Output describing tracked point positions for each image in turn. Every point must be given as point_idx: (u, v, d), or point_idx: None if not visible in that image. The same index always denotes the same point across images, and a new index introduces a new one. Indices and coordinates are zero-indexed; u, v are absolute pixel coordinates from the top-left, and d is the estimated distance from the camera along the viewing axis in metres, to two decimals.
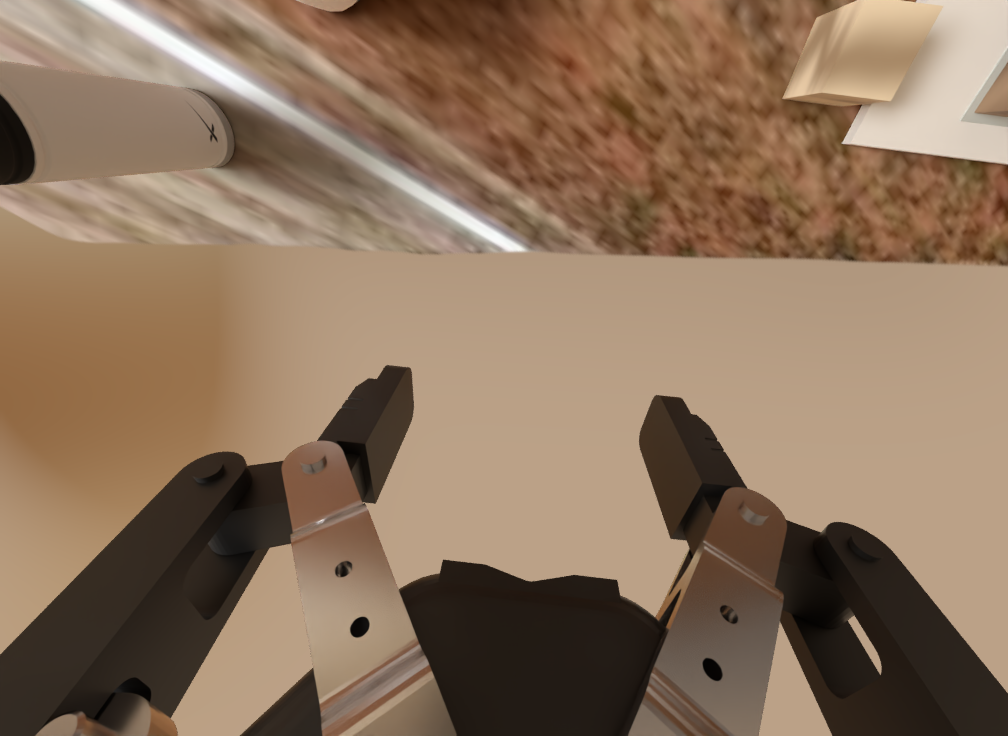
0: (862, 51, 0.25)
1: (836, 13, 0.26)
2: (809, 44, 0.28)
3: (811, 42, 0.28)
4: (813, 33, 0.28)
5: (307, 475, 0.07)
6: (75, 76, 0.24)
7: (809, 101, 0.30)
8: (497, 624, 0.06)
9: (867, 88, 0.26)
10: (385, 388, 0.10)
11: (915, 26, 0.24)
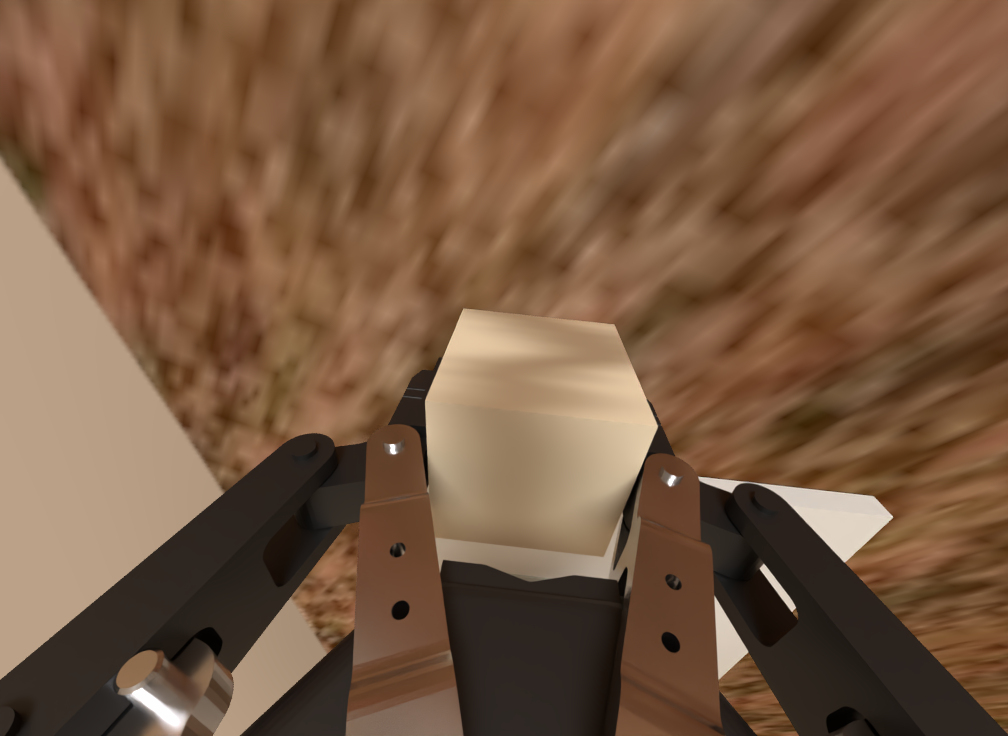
0: (528, 458, 0.08)
1: (621, 362, 0.10)
2: (566, 327, 0.11)
3: (569, 330, 0.11)
4: (585, 329, 0.11)
5: (391, 454, 0.08)
6: None
7: None
8: (497, 624, 0.06)
9: (448, 493, 0.09)
10: None
11: (572, 530, 0.10)
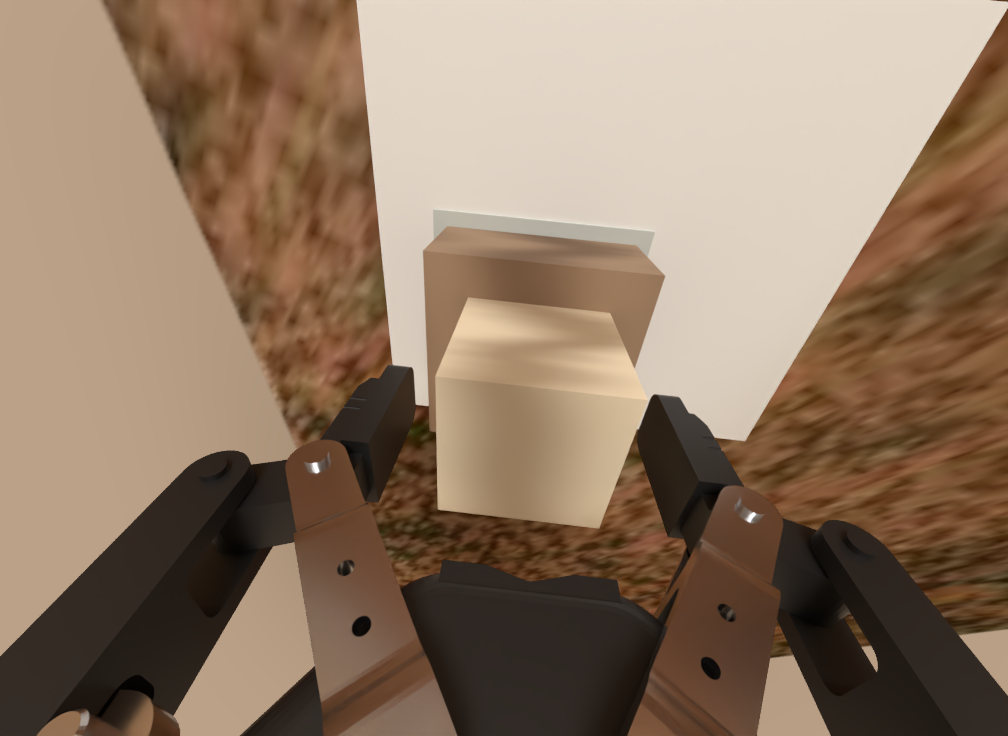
0: (529, 432, 0.09)
1: (615, 346, 0.11)
2: (564, 315, 0.12)
3: (567, 317, 0.12)
4: (583, 317, 0.12)
5: (311, 474, 0.07)
6: None
7: None
8: (497, 624, 0.06)
9: (455, 466, 0.10)
10: (387, 387, 0.10)
11: (569, 502, 0.11)
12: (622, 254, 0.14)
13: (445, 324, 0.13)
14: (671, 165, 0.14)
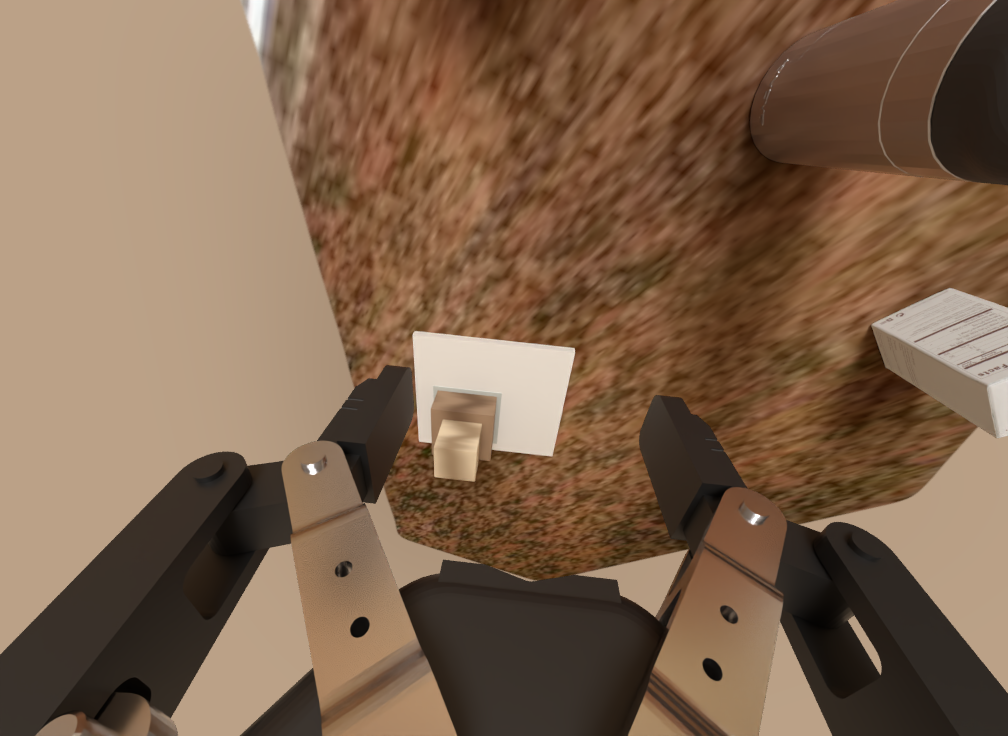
0: (454, 458, 0.42)
1: (477, 437, 0.44)
2: (468, 425, 0.45)
3: (468, 426, 0.45)
4: (473, 426, 0.45)
5: (307, 475, 0.07)
6: None
7: None
8: (497, 624, 0.06)
9: (438, 465, 0.43)
10: (385, 388, 0.10)
11: (466, 474, 0.44)
12: (488, 404, 0.47)
13: (436, 425, 0.47)
14: (502, 378, 0.47)
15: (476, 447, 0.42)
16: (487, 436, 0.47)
